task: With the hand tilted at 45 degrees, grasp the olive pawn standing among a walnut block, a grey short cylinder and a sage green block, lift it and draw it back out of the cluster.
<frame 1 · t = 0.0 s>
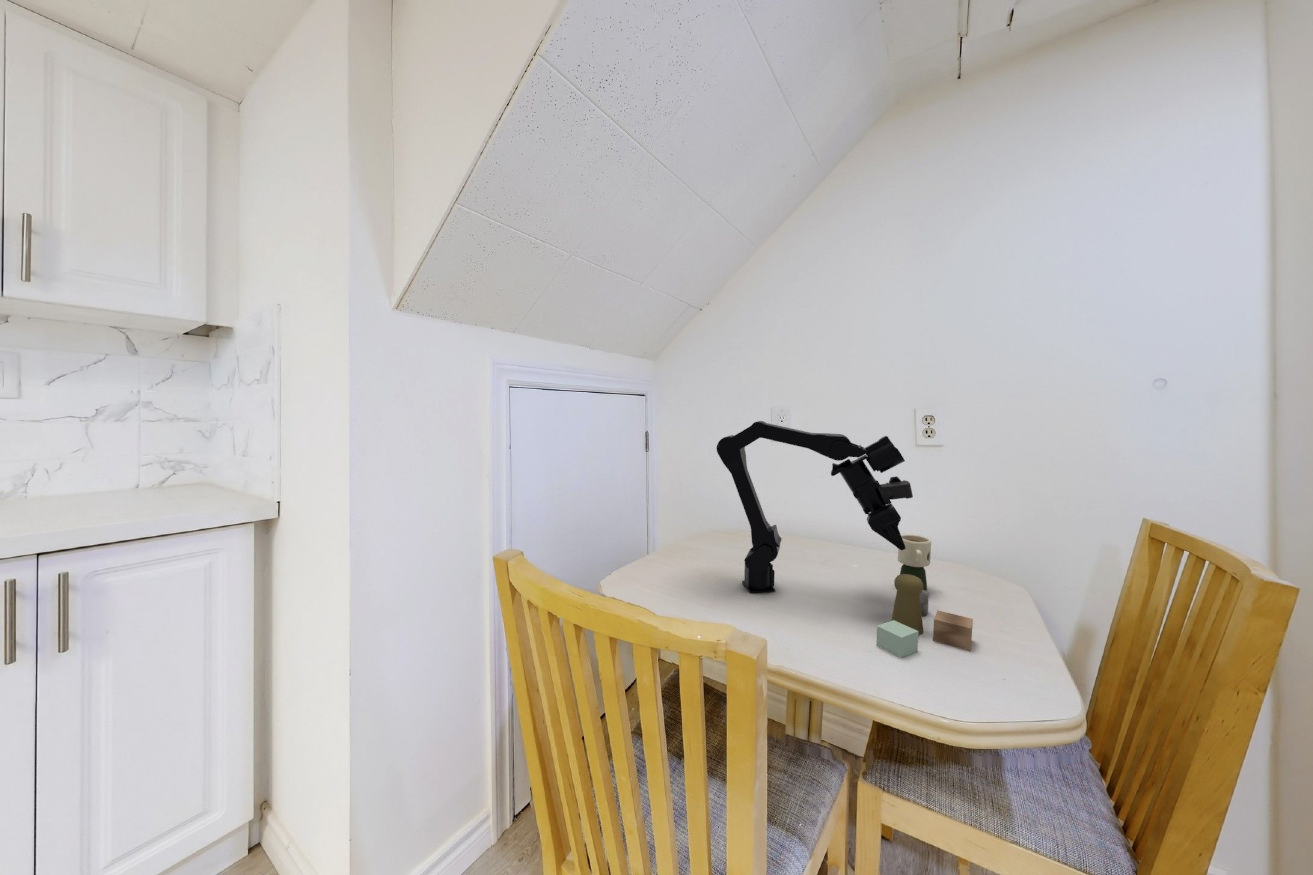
hand: (900, 543, 104), 15 cm above the table, tool tilted 35°, fingers open, 9 cm apart
sage block: (896, 648, 87), on the table
grey short cylinder: (914, 611, 103), on the table
walnut block: (952, 641, 90), on the table
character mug: (912, 589, 115), on the table
olive pawn: (906, 628, 95), on the table
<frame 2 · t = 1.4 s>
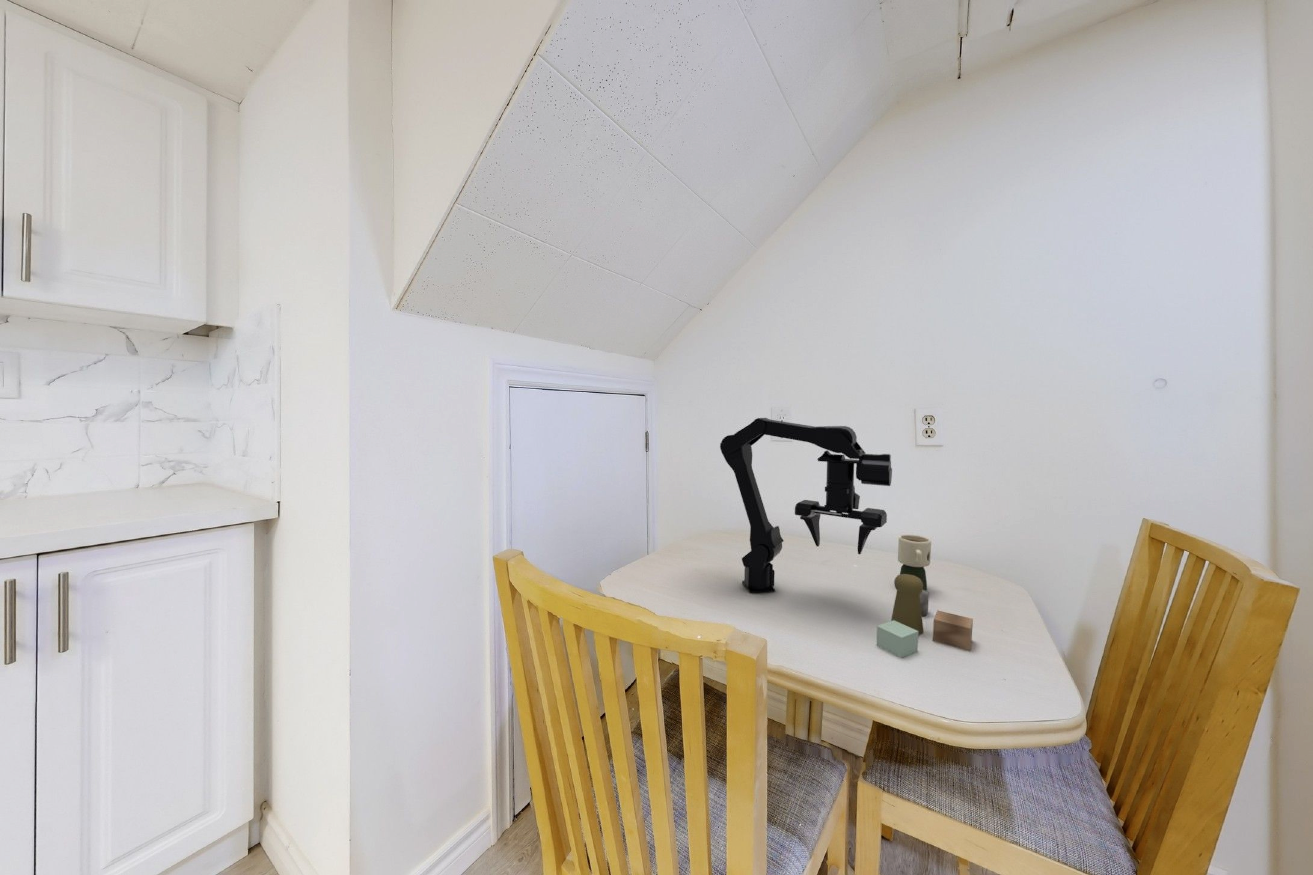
hand: (838, 549, 105), 13 cm above the table, tool pointing down, fingers open, 9 cm apart
nothing on the table moved.
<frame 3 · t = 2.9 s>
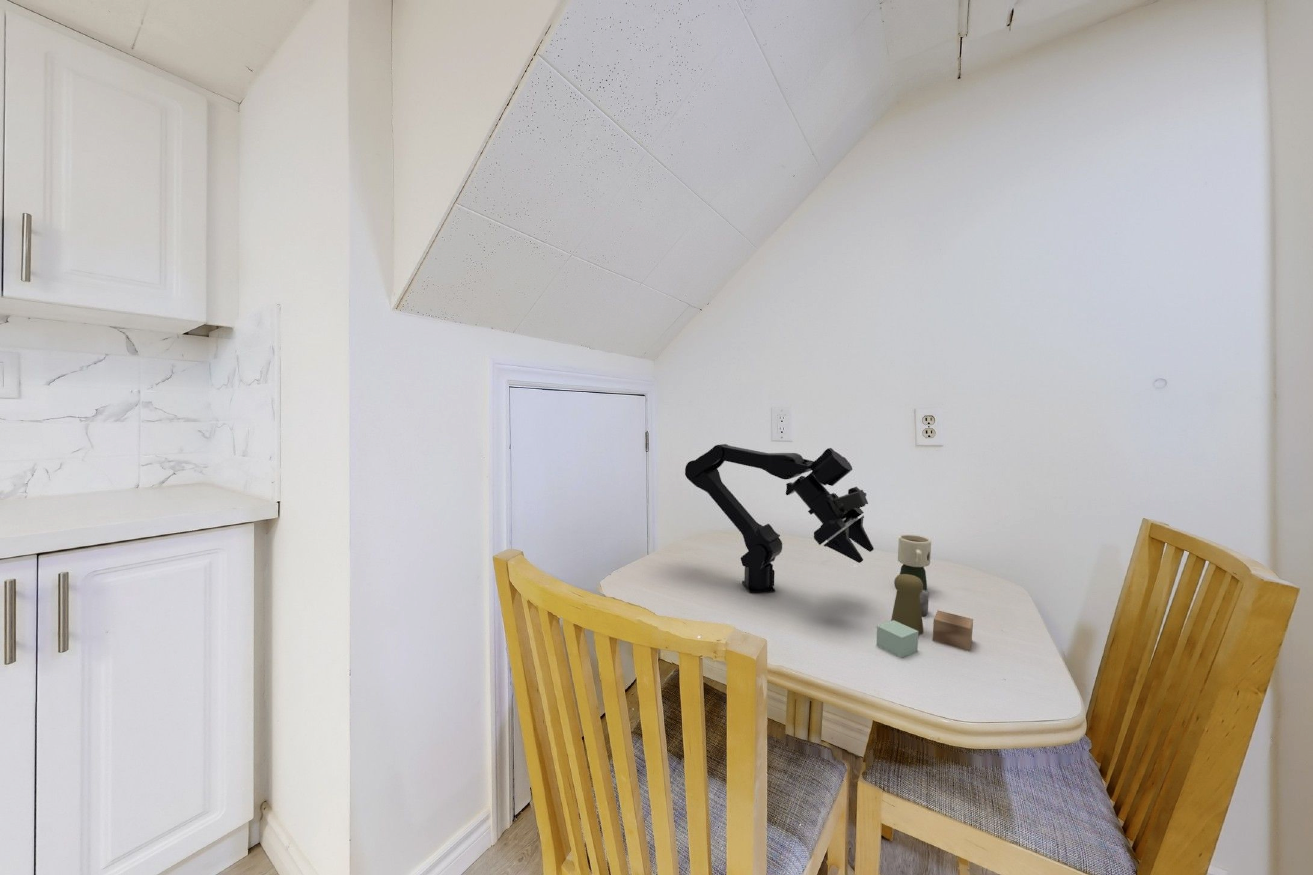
hand: (867, 555, 99), 13 cm above the table, tool tilted 45°, fingers open, 9 cm apart
nothing on the table moved.
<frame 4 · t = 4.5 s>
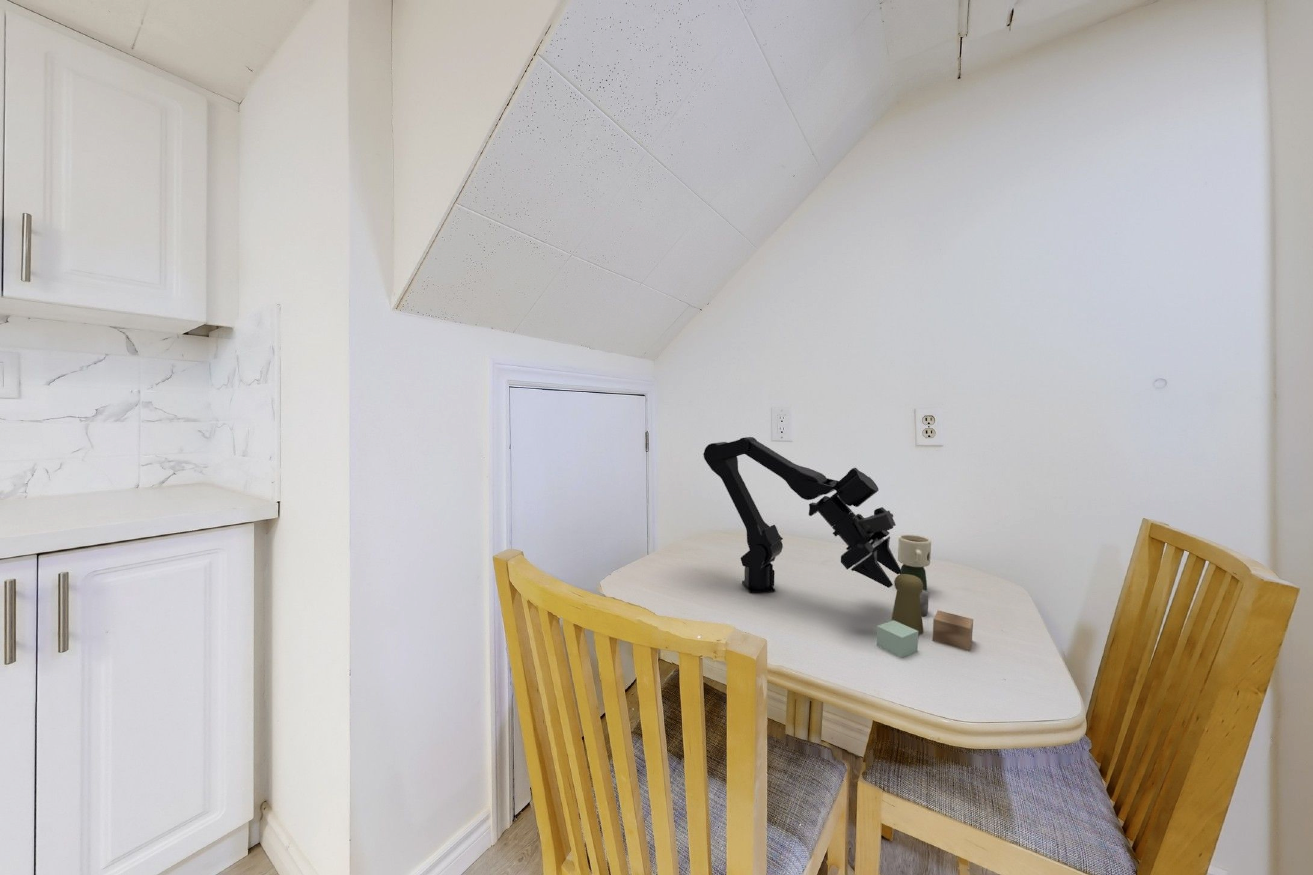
hand: (895, 579, 96), 10 cm above the table, tool tilted 45°, fingers open, 9 cm apart
nothing on the table moved.
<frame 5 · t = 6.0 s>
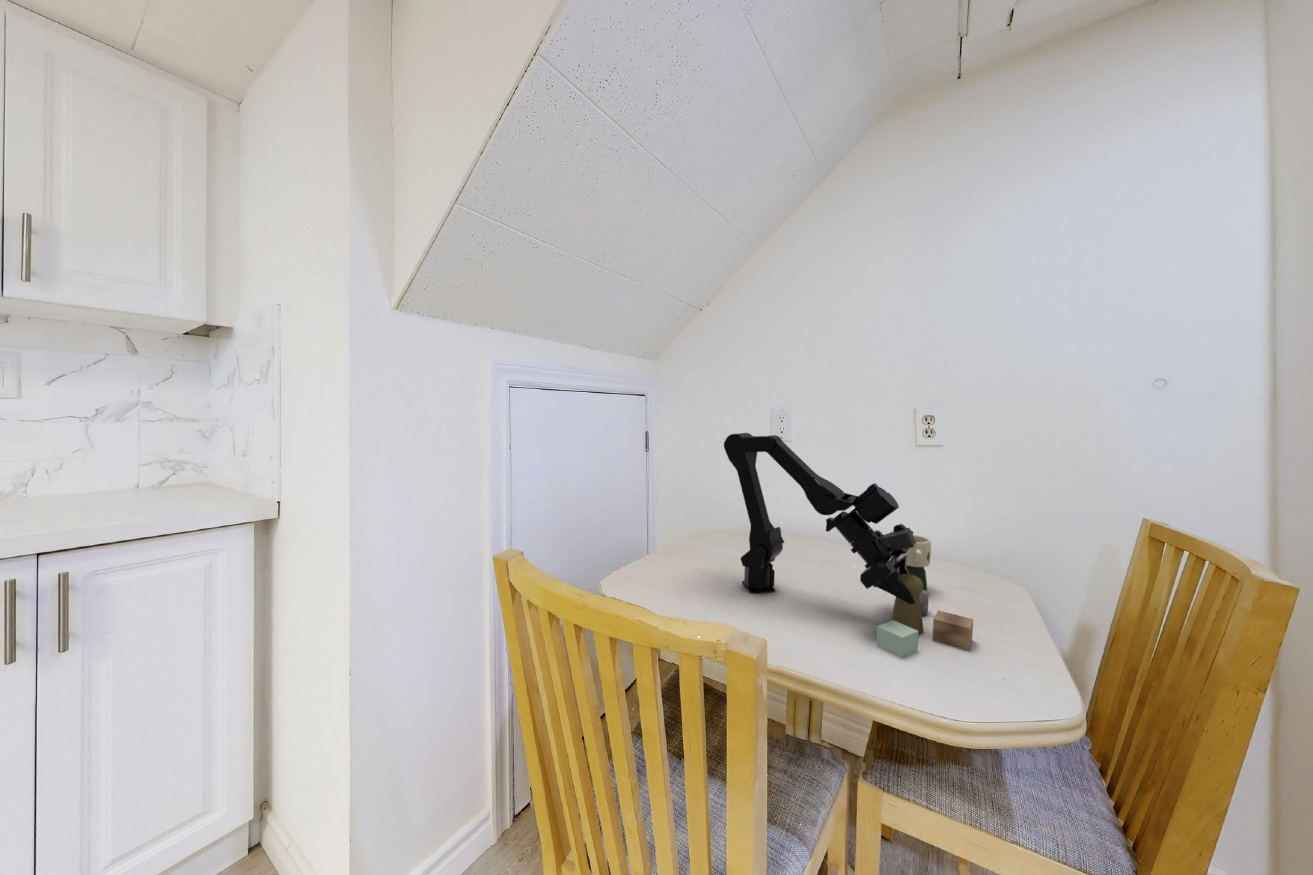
hand: (915, 598, 94), 7 cm above the table, tool tilted 45°, fingers closed on olive pawn, 5 cm apart
olive pawn: (906, 628, 95), on the table, touching gripper
everything else where it was.
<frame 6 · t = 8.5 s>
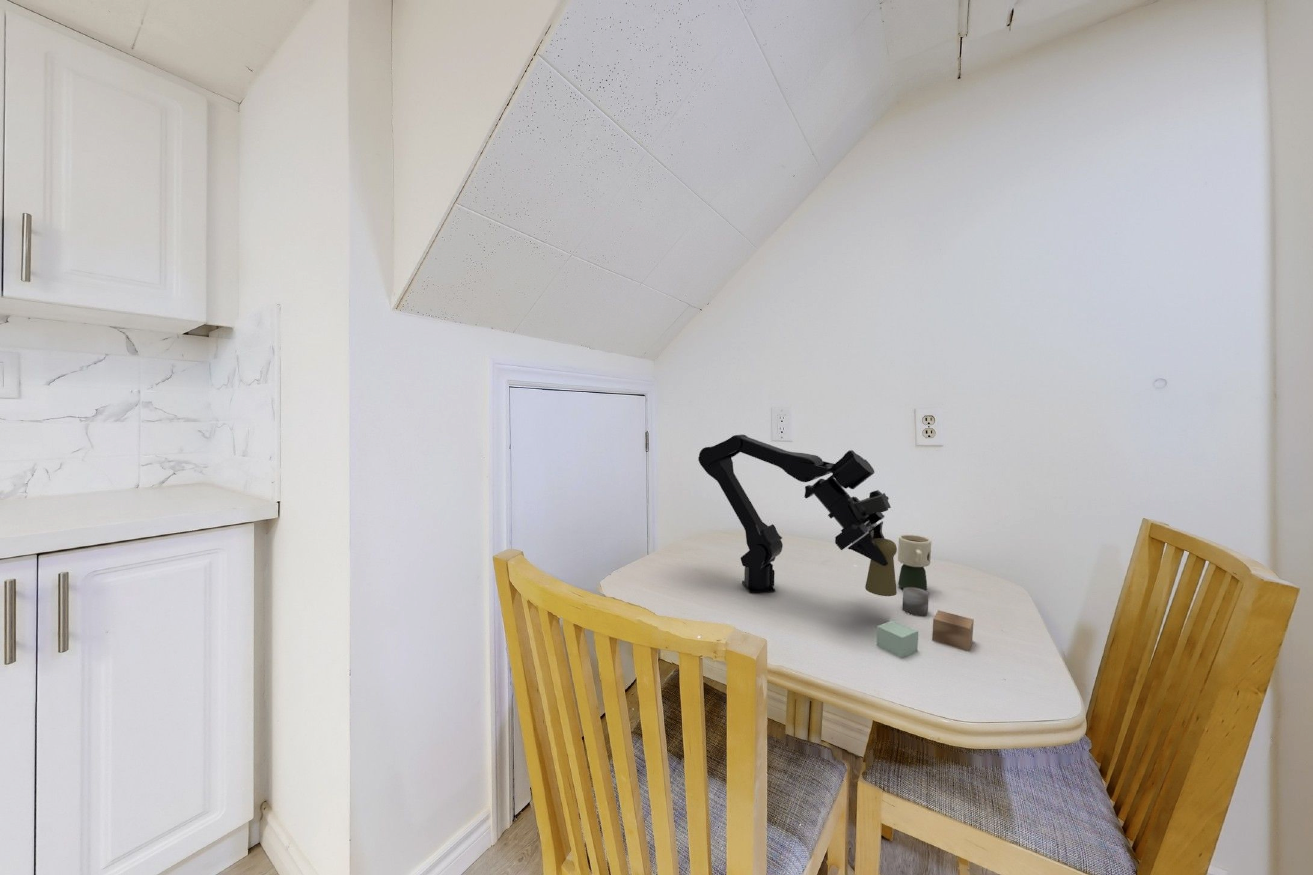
hand: (889, 561, 97), 13 cm above the table, tool tilted 45°, fingers closed on olive pawn, 5 cm apart
olive pawn: (880, 591, 98), point 6 cm above the table, touching gripper
everything else where it was.
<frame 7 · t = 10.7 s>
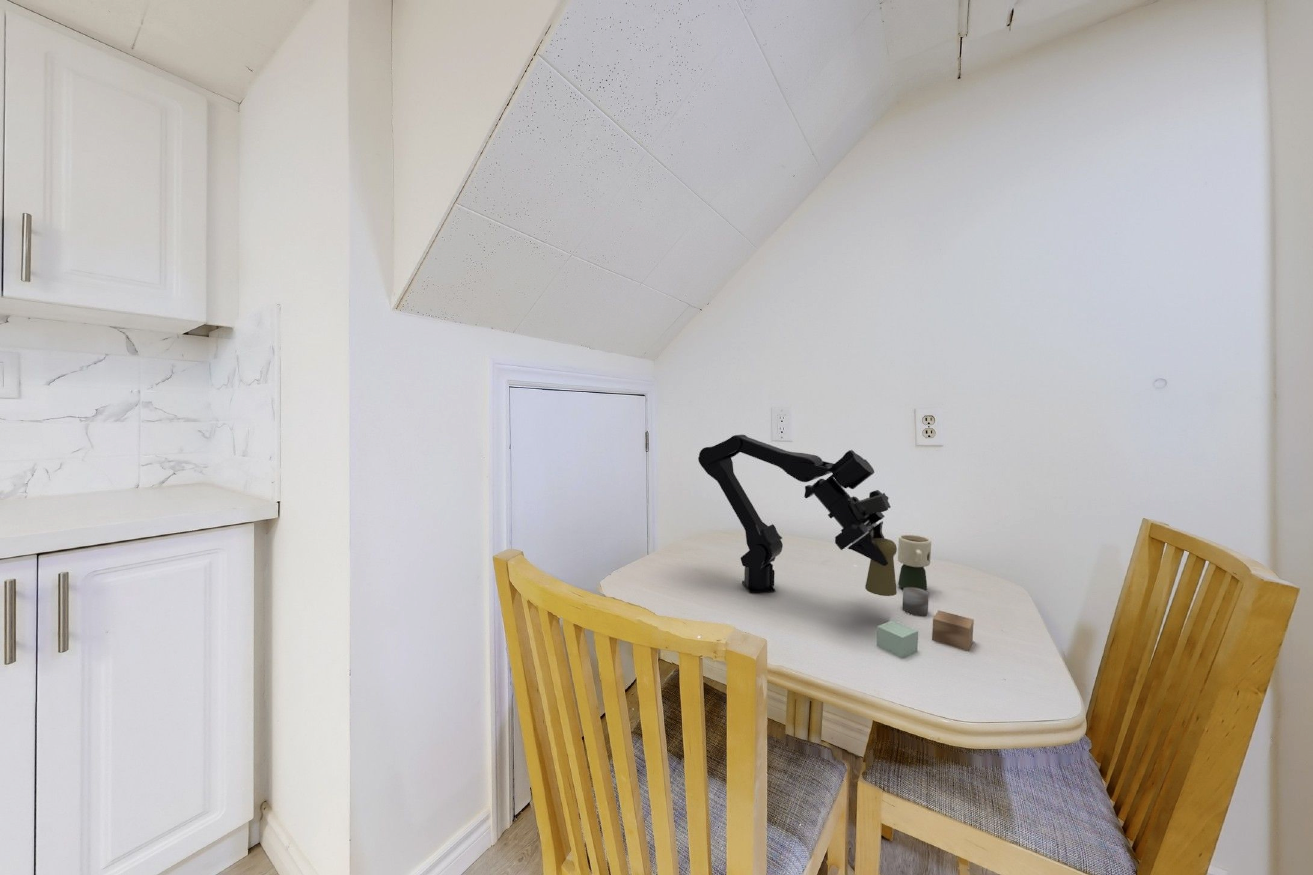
hand: (889, 561, 97), 13 cm above the table, tool tilted 45°, fingers closed on olive pawn, 5 cm apart
olive pawn: (880, 590, 98), point 7 cm above the table, touching gripper
everything else where it was.
at the end: the gripper is holding olive pawn; olive pawn point 6.5 cm above the table; olive pawn tilted 0° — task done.
